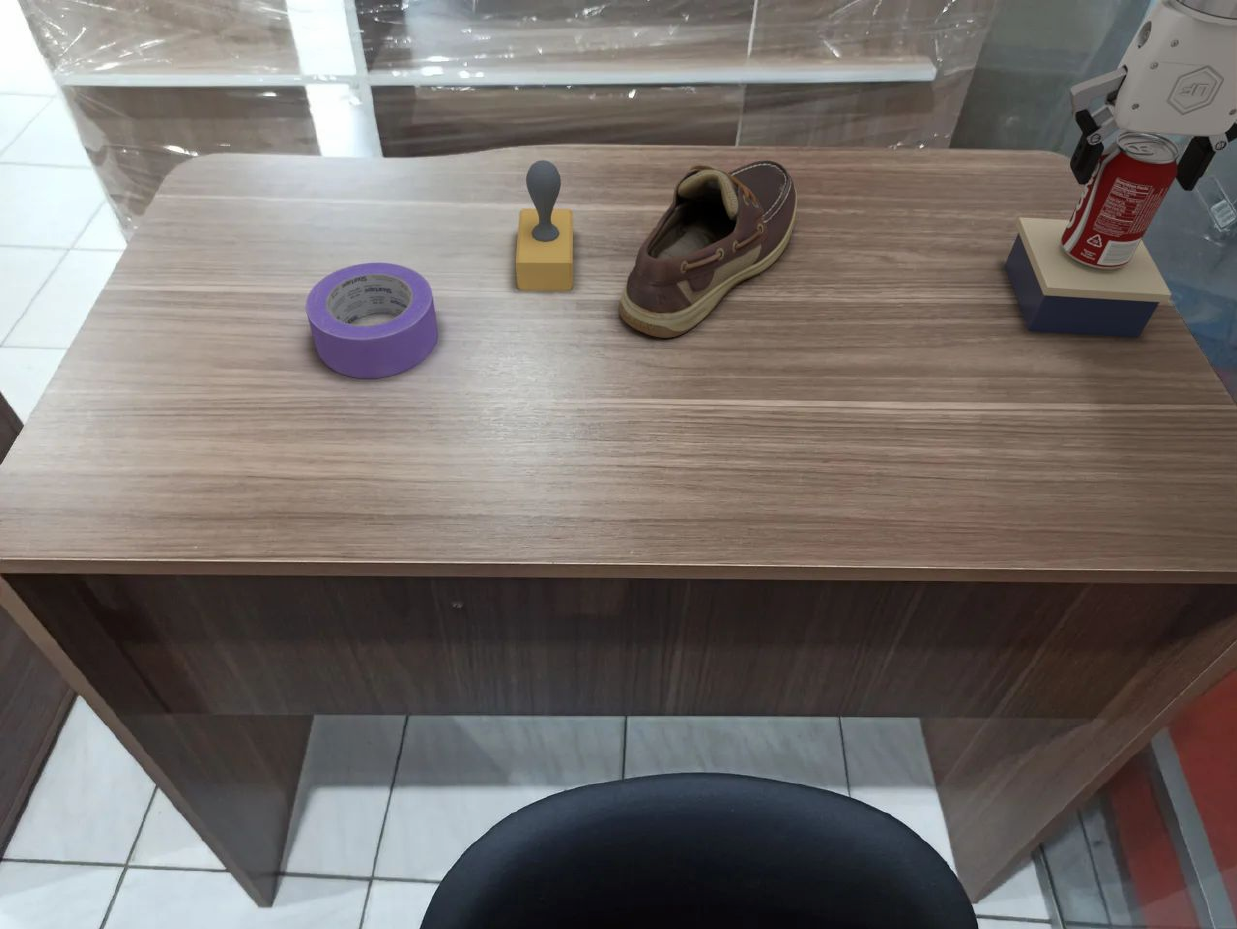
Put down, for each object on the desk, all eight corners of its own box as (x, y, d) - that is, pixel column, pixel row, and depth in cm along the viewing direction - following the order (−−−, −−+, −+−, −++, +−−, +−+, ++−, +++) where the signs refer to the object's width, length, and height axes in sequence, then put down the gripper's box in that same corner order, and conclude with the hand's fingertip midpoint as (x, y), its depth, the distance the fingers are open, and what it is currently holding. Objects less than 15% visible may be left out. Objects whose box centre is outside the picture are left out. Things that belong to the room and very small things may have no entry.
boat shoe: (741, 185, 109) (754, 98, 101) (822, 218, 105) (843, 130, 97) (588, 313, 92) (589, 221, 84) (678, 357, 88) (687, 265, 80)
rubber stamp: (572, 291, 95) (571, 190, 86) (517, 291, 94) (510, 189, 85) (573, 236, 101) (571, 136, 92) (521, 235, 101) (515, 135, 92)
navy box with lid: (1108, 270, 100) (1133, 223, 95) (1143, 341, 92) (1172, 294, 87) (999, 263, 100) (1018, 216, 95) (1024, 334, 92) (1047, 287, 88)
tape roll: (411, 288, 94) (404, 248, 91) (457, 354, 88) (452, 313, 84) (300, 323, 90) (288, 283, 86) (340, 395, 84) (328, 355, 80)
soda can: (1137, 275, 89) (1199, 165, 80) (1069, 273, 89) (1124, 163, 80) (1114, 235, 94) (1170, 127, 85) (1049, 233, 94) (1099, 124, 85)
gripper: (1132, 2, 70) (1047, 196, 83) (1358, 14, 70) (1238, 207, 82) (1104, -35, 75) (1028, 154, 88) (1315, -24, 74) (1207, 164, 87)
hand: (1130, 179), depth 85 cm, fingers open, 9 cm apart
